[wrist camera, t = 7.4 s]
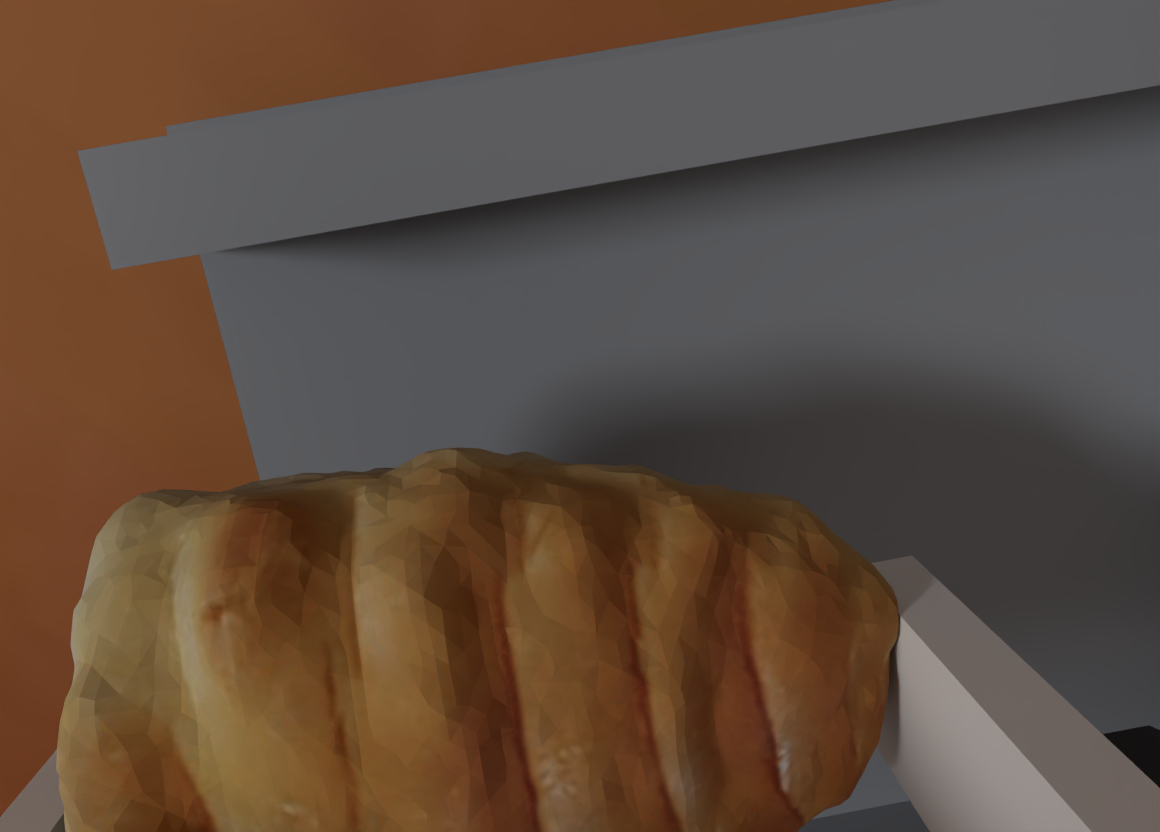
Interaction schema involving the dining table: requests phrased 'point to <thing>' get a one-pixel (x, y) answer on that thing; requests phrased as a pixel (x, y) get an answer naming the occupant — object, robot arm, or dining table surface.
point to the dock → (737, 293)
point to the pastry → (471, 655)
